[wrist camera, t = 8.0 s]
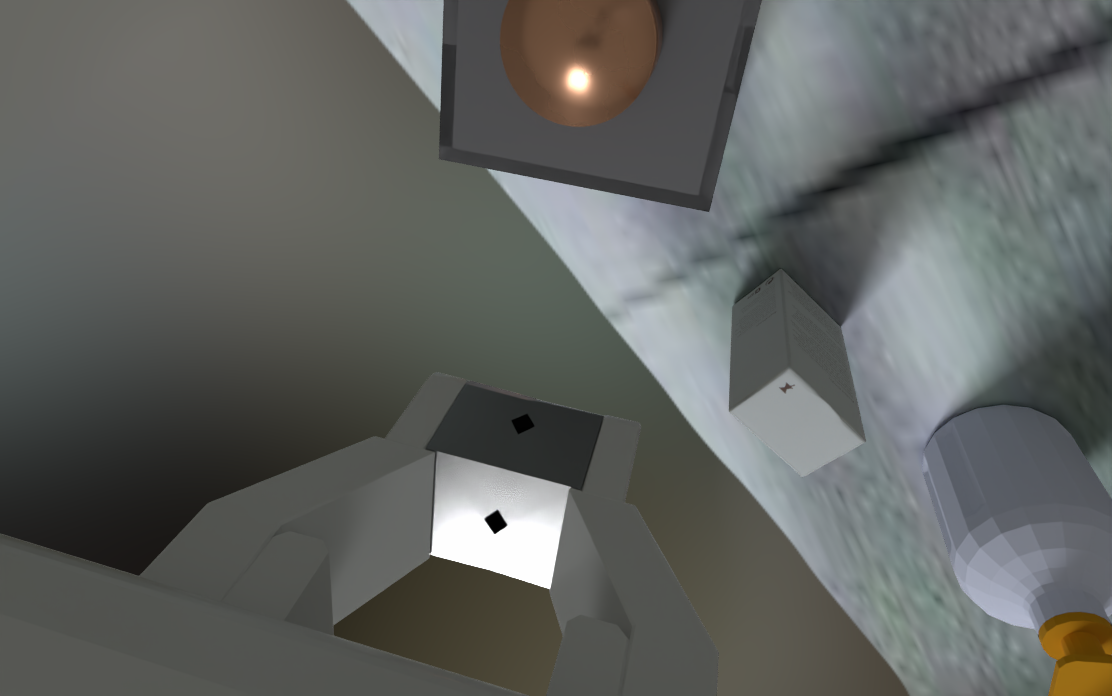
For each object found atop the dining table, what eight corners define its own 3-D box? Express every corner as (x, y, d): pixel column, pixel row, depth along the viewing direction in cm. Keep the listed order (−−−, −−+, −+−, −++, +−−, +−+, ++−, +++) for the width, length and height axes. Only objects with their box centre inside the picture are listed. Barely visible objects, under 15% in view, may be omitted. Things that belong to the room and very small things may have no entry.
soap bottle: (1083, 399, 45) (1367, 805, 24) (1060, 509, 49) (1285, 932, 28) (925, 402, 47) (1061, 771, 27) (917, 506, 51) (1028, 892, 31)
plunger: (557, -115, 36) (452, -136, 23) (748, -89, 34) (747, -95, 22) (537, 82, 41) (442, 154, 28) (703, 112, 40) (681, 201, 27)
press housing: (544, -145, 37) (449, -176, 25) (779, -113, 35) (794, -131, 23) (523, 94, 43) (439, 158, 31) (720, 130, 41) (709, 211, 30)
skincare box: (729, 306, 47) (724, 410, 37) (781, 265, 45) (790, 364, 35) (791, 365, 48) (802, 481, 38) (844, 328, 46) (871, 441, 36)
